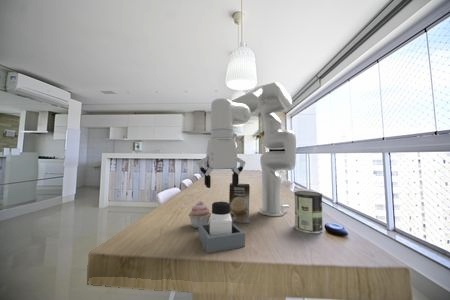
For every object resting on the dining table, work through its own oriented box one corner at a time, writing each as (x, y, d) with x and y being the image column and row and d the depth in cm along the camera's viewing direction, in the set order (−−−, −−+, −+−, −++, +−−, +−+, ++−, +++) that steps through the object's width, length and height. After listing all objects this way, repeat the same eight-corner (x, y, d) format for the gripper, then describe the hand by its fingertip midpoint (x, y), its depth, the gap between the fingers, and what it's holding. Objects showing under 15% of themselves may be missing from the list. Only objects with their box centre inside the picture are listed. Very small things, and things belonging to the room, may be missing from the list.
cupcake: (189, 231, 68) (189, 204, 69) (187, 222, 77) (188, 199, 78) (213, 229, 70) (214, 203, 71) (209, 221, 79) (209, 198, 80)
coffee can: (318, 225, 76) (317, 191, 77) (326, 235, 66) (326, 196, 67) (292, 223, 78) (292, 190, 79) (297, 232, 68) (296, 194, 69)
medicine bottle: (232, 243, 57) (232, 204, 58) (209, 243, 57) (210, 204, 57) (230, 234, 64) (230, 199, 65) (210, 234, 64) (210, 199, 64)
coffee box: (228, 222, 78) (228, 184, 79) (229, 217, 85) (229, 183, 86) (249, 223, 78) (249, 185, 78) (249, 218, 84) (249, 183, 85)
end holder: (229, 232, 68) (230, 220, 68) (244, 246, 56) (245, 233, 57) (198, 236, 63) (198, 224, 64) (207, 253, 52) (208, 238, 52)
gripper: (239, 138, 69) (240, 183, 68) (194, 136, 62) (194, 186, 62) (249, 136, 62) (249, 186, 61) (199, 133, 55) (199, 190, 55)
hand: (221, 186), depth 61 cm, fingers open, 9 cm apart
